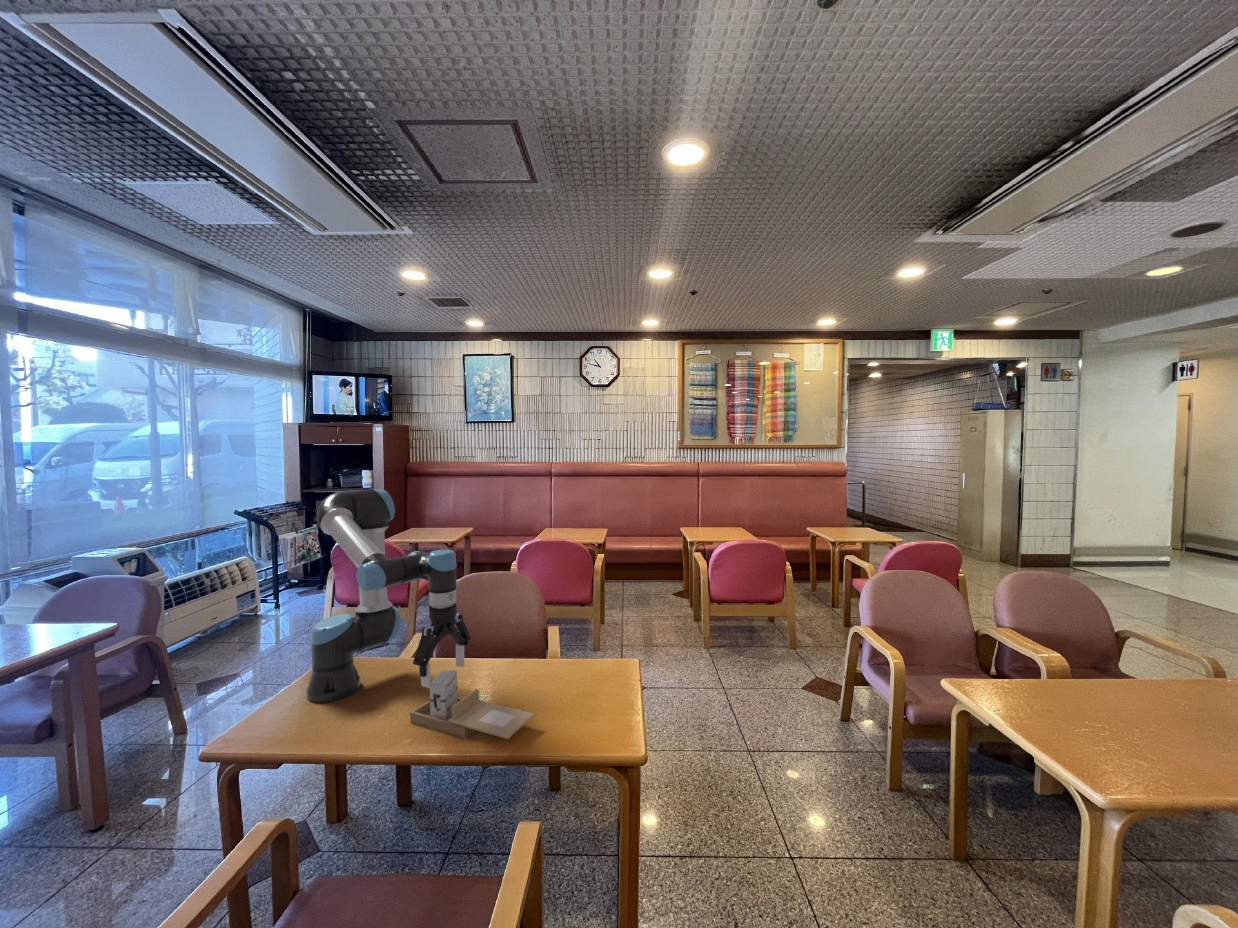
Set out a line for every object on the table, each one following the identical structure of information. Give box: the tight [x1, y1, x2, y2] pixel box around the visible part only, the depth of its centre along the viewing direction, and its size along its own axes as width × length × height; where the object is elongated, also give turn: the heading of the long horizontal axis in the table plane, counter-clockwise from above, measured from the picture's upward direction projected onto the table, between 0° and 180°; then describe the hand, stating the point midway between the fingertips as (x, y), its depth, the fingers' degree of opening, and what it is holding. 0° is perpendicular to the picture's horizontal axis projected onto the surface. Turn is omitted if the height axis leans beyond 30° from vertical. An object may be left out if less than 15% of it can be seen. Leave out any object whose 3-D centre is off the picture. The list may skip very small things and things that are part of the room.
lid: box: [448, 689, 535, 740], centre depth 137 cm, size 20×12×4 cm, turn 66°
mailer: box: [409, 697, 477, 740], centre depth 143 cm, size 20×12×3 cm, turn 66°
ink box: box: [429, 670, 459, 721], centre depth 144 cm, size 9×5×12 cm, turn 175°
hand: (443, 675), depth 144 cm, fingers open, 13 cm apart
